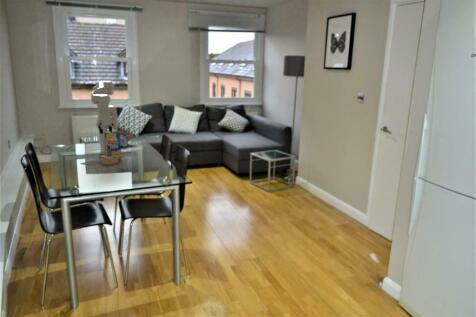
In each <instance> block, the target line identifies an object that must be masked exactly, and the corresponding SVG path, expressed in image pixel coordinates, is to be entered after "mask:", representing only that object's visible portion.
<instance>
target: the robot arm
mask: <svg viewBox="0 0 476 317" xmlns="http://www.w3.org/2000/svg"><path fill="white" fill-rule="evenodd" d="M114 91H115V86H114V83H113V81H111V80H99V81H97V82H96V83H95V86H93V87H92V92H91V94H90V98H91V100H90V101H91V103H92V104H93V105H96V106H97V109H96V110H97V115H98V116H97V121H96V123H95V125H96V127H97V129H98V130H97V131H98V136H99V137H98V138H99V147H100V149H99V150H100V151H99V152H98V154H99V155H105V154H106V145H105V133H108V132H113V129H117V128H118V127H119V122H118V120H119V119H118V112H117V108H116V107H115V106H114V105H110V104H109V103H111V96H112V95H113V94H114Z"/></svg>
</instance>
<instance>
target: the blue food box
mask: <svg viewBox="0 0 476 317" xmlns="http://www.w3.org/2000/svg"><path fill="white" fill-rule="evenodd" d="M105 145H106V154H107V150H108V149H111V154H118V155H119V157H118V159H122V147H121V145H120V133H119V132H118V131H112V132H108V133H105Z"/></svg>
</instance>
